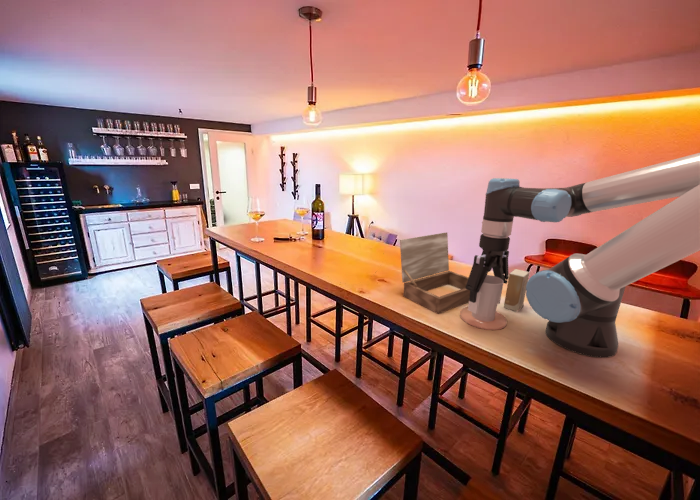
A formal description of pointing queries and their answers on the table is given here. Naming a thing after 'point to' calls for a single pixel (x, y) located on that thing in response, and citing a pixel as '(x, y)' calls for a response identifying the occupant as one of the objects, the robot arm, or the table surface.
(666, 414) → the table surface
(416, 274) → the hinged wooden box
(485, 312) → the cup
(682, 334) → the table surface
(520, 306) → the skincare box
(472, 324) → the saucer
